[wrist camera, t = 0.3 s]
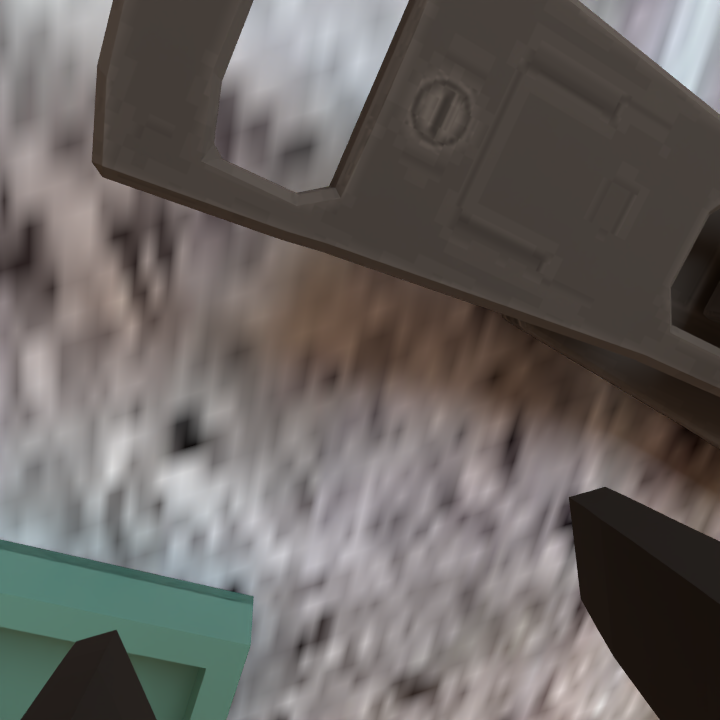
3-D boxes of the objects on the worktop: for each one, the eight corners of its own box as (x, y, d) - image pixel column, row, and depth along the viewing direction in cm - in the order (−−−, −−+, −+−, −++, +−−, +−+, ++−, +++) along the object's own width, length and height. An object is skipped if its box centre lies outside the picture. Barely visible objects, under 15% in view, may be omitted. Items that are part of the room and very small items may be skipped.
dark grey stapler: (222, -339, 11) (1239, 284, 16) (242, -141, 17) (963, 260, 22) (36, 185, 12) (1021, 608, 17) (118, 189, 19) (821, 498, 24)
